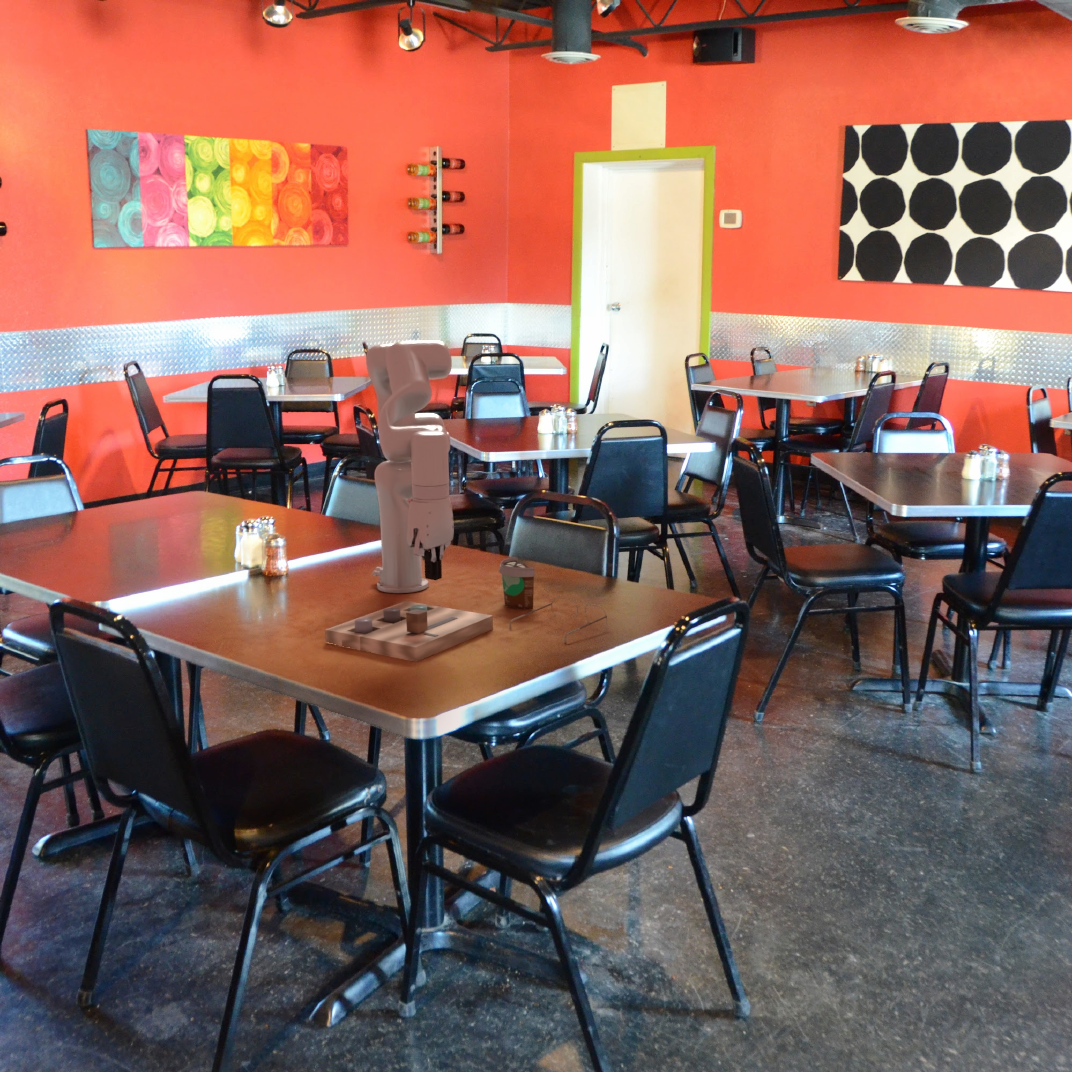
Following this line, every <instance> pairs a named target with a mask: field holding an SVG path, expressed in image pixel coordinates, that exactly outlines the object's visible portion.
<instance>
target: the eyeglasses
mask: <svg viewBox="0 0 1072 1072" xmlns="http://www.w3.org/2000/svg"><path fill="white" fill-rule="evenodd" d="M557 599H565V600H569V601H571V602H573V603H574V604H575V605H576V607H577V608H576V615H575V617H572V618H571V619H572V620H575V619H577V617H578V614H579V607H580V608H582V609H583V608H584V613H585V617H586V619H587V621H588V622H589V623H588V624H586V625H583V626H581V627H578V628H576V629H573V630H571V631H569V632H568V633H566V634H565V636H564V640H563V641H564V644H567V637H568V636H569V635H571V634H573V633H575V632H578V631H579V630H582V629H584V628H586V627H588V626H590V625H593V624H595V623H597V622H599V621H600V622H601V620H604V619H605V626H604V628H606V627H607V626H608V615H607V612H606V611H605V609H604V608H603V607H602V606H601V605H598V604H593V603H589V602H585V601H581V600H576V599H571V598H566V597H563V596H561V597H560V596H559V597H555V598H553V599H552V601H551V603H549V604H547V605H544V606H542V607H539V608H537V609H533V610H532V611H530V612H527V613H525V614H522V615H519V616H516V617H515V618H512V619H511V620H510V622H509V625H508V627H509V630H511V629H513V628H512V623H513V622H514V621H517V620H518V619H521V618H524V617H525V616H527V615H531V614H533V613H535V612H537V611H539V610H542V609H544V608H547V607H550V606H551V613H552V614H553V615H554V616H555V617H557V615H556V614H555V612H554V610H553V609H554V608H553V604H554V601H555V600H557ZM577 602H578V603H585V604H586V605H585V606H580V605H578V604H577ZM588 606H596V607H599V608H600V609H602V610H603V612H604V614H605V616H603V617H601V618H598V619H596V620H594V621H592V622H591V621H590V620H589V617H588V614H587V607H588Z"/></svg>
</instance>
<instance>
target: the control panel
mask: <svg viewBox="0 0 1072 1072" xmlns="http://www.w3.org/2000/svg"><path fill="white" fill-rule="evenodd" d="M414 605H426V606H427V625H428V630H426V631H424V632H421V633H419V634H417V633H412V632H407V621H406V612H409V611H411V606H414ZM387 608H399V609H400V616H401V621H399V622H397V623H394V624H392V623H387V622H384V617H383V610H384V609H387ZM493 617H494V615H492V614H491V615H490V614H485V613H480V612H475V611H473V612H472V611H467V610H462V609H455V608H450V607H444V606H438V605H432V604H427V603H426V604H425V603H422V602H421V603H420V602H414V601H409V600H405V601H402V602H399V603H395V604H393V605H391V606H388V607H385V608H381V609H380V610H377V611H374V612H370V613H368V614H365V615H362V616H360V617H357V618H354V619H350V620H348V621H345V622H343V623H340V624H337V625H335V626H332V627H328V628H325V643H326V642H329V643H333V644H336V645H340V646H339V647H341V646H344V647H343V648H346V647H350V648H349V649H351V648H353V649H352V650H355V649H357V650H356V651H360V650H362V651H361V652H365V651H366V652H367V653H370V652H371V653H370V654H377V655H381V656H386V657H391V658H395V659H400V660H406V661H411V662H415V663H417V662H419V661H422V660H423V659H426V658H429V657H431V656H433V655H435V654H438V653H440V652H443V651H445V650H447V649H450V648H452V647H456V645H460V644H461V643H464V642H466V641H468V640H471V639H474V638H475V637H477V636H480V635H483V634H485V633H487V632H489V631H492V630H493V629H494V618H493ZM359 618H370V619H372V628H373V632H370V633H367V634H360V633H355V620H356V619H359ZM336 645H335V646H336ZM366 652H365V653H366Z"/></svg>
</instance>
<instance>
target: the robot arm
mask: <svg viewBox="0 0 1072 1072" xmlns="http://www.w3.org/2000/svg"><path fill="white" fill-rule="evenodd" d="M365 361H366V362H365V363H366V369H367V372H368V376H369V379H370V381H371V384H372V386H373V388H374V391H375V395H376V400H377V420H378V421H377V429H378V438H379V445H380V448H381V451H382V454H383V456H384V458H385V459H386V460H385V461H382V462H380V463H379V464H378V465H377V466H376V468H375V469H374V484H375V490H376V494H377V498H378V506H379V519H380V539H381V541H380V543H381V561H382V565H381V566H376V567H375V568H374V570H373V571H372V573H371V574H372V576H373V577H378V578H379V581H378V582H377V583H376V589H377V590H378V591H380V592H384V593H391V594H409V593H414V592H415V593H416V592H420V591H423V590H426V589H428V587H429V581H428V580H432V581H438V580H441V579H442V578H443V576H442V574H443V572H442V571H443V570H442V567H443V566H442V560H443V559H444V553H445V550H446V549H447V548H448V547H450V546H451V541H453V540H454V533H455V532H454V528H455V527H454V526H455V525H454V513H453V506H452V501H451V500H452V499H451V497H450V475H449V474H450V472H449V471H450V468H449V467H450V466H449V452H450V450H451V435H450V433H449V431H447V429H446V425H445V423H444V419H443V418H442V417H441V415H439V414H437V413H433V412H423V413H420V411H421V410H422V409H424V408H425V407H427V406H428V405H429V404H430V402H431V400H432V397H433V391H432V387H431V386H432V385H431V382H430V380H441V379H443V380H444V379H446V378H447V377H448V376H449V375H450V374H451V372H452V365H453V362H452V361H453V360H452V355H451V352H450V349H449V346H447V344H446V343H445V342H444V341H443V340H439V339H438V340H436V339H432V340H431V339H428V340H421V339H420V340H404V341H403V340H401V341H398V342H395V343H383V344H377V345H373V346H371V347H370V348H369V349H368V350H367V352H366V356H365ZM417 412H419V413H417ZM411 499H412V500H411ZM408 500H410V502H409V501H408ZM422 561H423V562H424V578H423V571H422V570H423V569H422Z"/></svg>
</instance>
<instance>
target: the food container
mask: <svg viewBox="0 0 1072 1072" xmlns="http://www.w3.org/2000/svg"><path fill="white" fill-rule="evenodd" d="M498 572H499V574H501V580H502V591H503V599H504V601H503V602H504V607H506V608H508V609H512V610H525V611H526V610H534V593H535V592H534V588H535V586H534V585H535V584H534V583H535V582H534V581H535V577H536V574H535V573H536V571H535V567H534V566H533V567H532V566H531V567H528V566H527V565H526V564H525V563H522V562H519V561H518V556H516V557H515V556H513V557H509V558H505V559H503V560H502V561H501V562H500V564H499V569H498Z"/></svg>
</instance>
